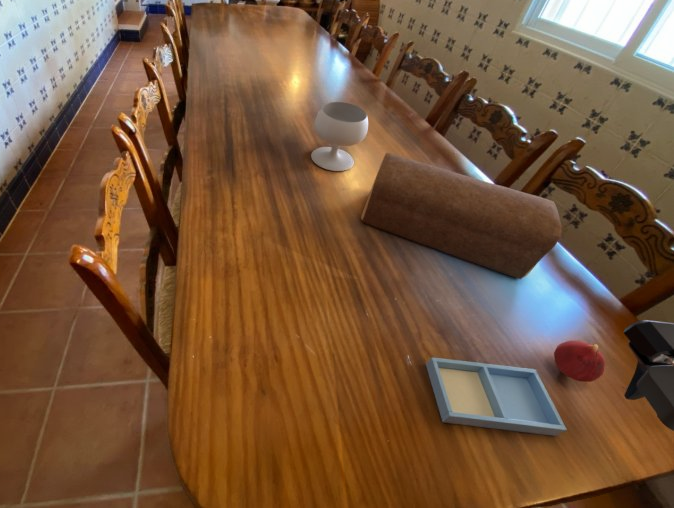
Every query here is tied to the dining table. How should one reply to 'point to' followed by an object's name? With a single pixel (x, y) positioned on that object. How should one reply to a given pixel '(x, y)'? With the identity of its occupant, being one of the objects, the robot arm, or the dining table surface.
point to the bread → (462, 215)
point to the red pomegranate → (579, 360)
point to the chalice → (339, 134)
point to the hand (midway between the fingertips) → (658, 441)
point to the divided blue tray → (493, 397)
